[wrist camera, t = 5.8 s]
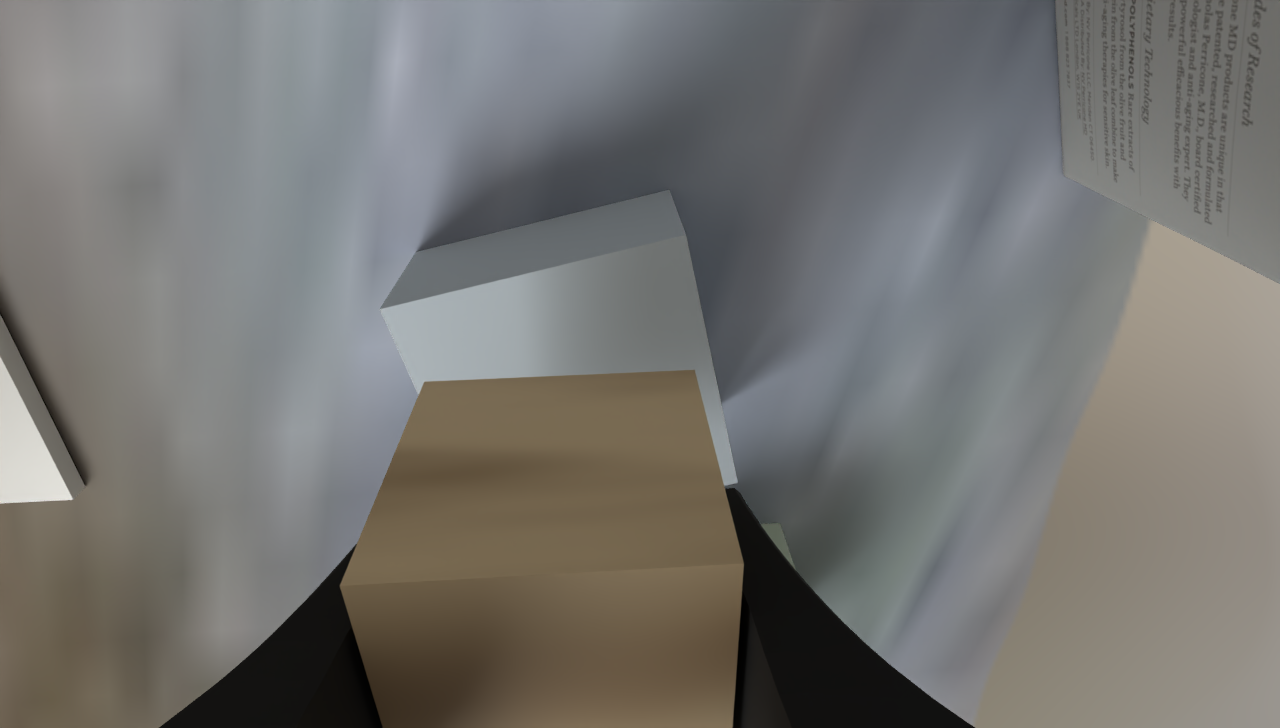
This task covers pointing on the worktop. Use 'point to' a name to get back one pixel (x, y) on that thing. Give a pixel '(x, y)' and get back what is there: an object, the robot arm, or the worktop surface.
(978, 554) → the worktop surface
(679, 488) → the maple block
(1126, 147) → the skincare box
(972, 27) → the worktop surface
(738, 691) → the robot arm
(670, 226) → the blue-grey base block
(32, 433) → the card
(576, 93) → the worktop surface
